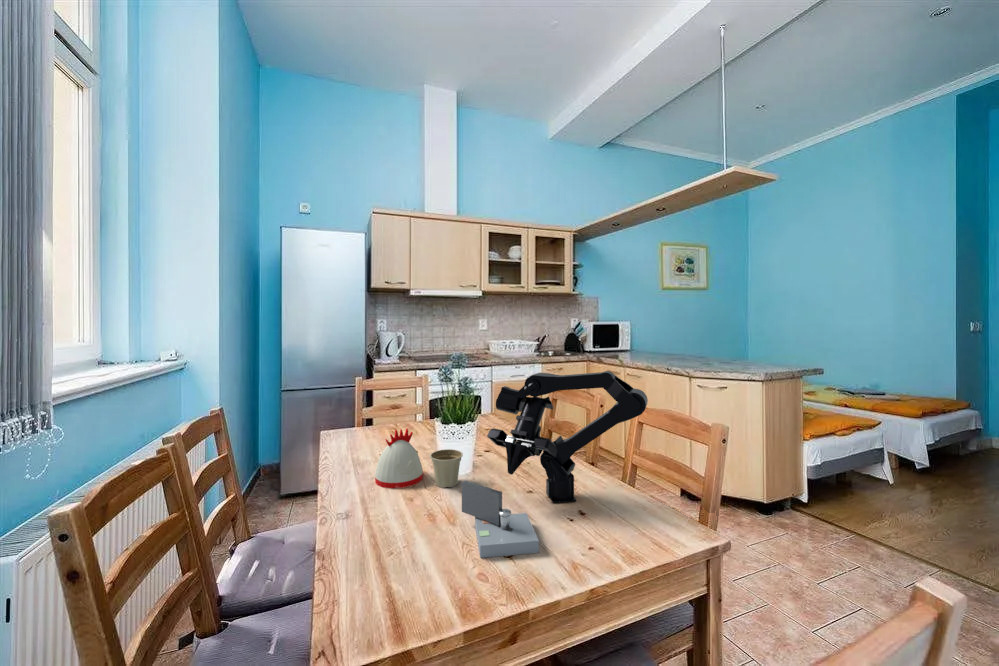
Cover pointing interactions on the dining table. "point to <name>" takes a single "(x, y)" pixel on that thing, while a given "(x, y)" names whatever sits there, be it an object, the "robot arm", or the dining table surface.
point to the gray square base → (506, 537)
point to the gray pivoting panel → (484, 504)
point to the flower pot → (446, 466)
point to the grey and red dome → (399, 463)
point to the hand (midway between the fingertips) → (509, 473)
